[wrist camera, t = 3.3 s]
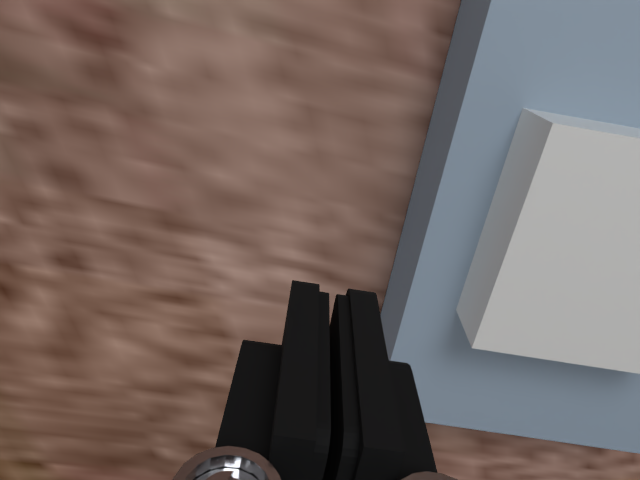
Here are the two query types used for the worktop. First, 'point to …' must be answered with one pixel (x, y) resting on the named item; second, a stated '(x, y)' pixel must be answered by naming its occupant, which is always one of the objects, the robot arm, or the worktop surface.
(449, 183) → the plate
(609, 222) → the tile
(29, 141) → the worktop surface
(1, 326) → the worktop surface
